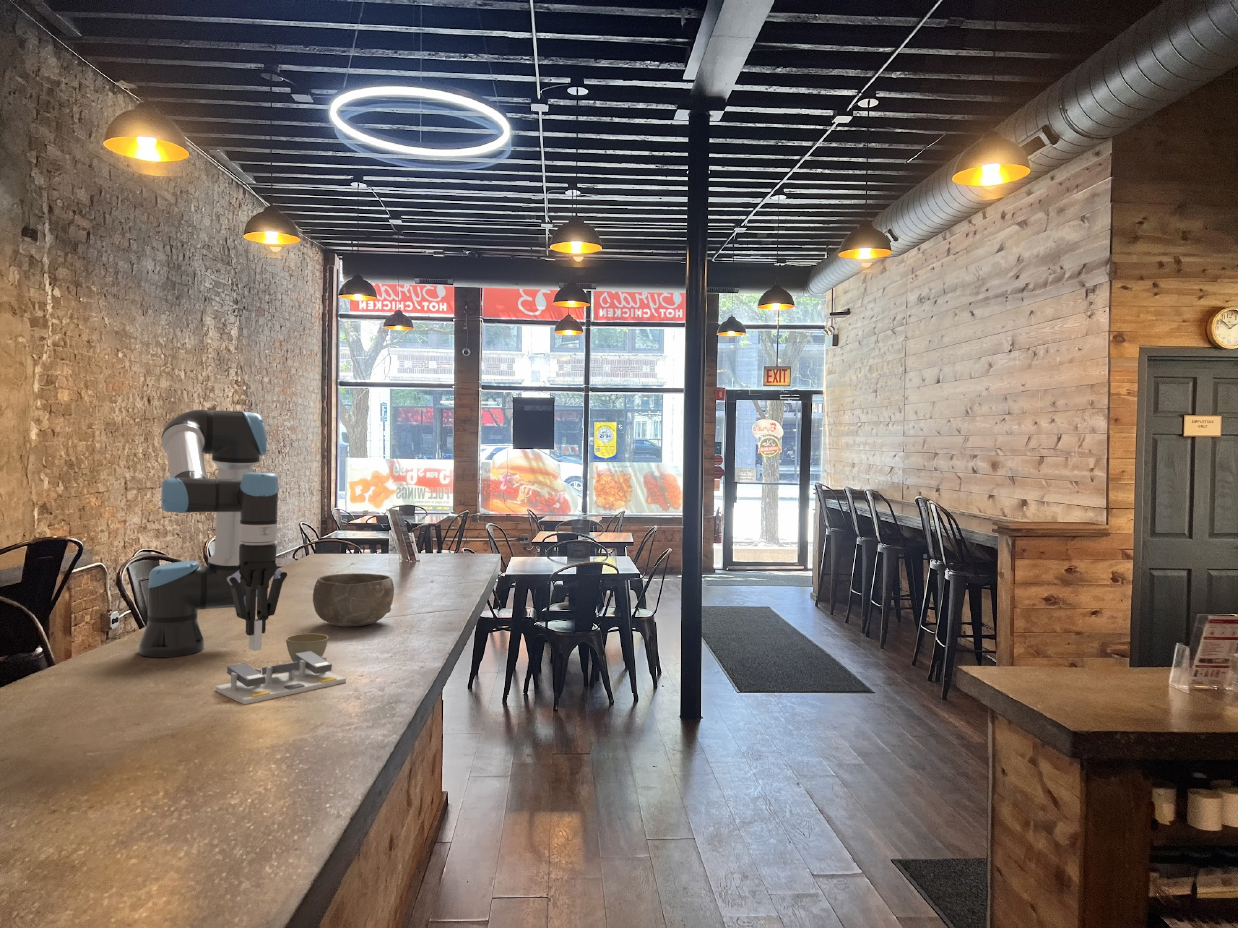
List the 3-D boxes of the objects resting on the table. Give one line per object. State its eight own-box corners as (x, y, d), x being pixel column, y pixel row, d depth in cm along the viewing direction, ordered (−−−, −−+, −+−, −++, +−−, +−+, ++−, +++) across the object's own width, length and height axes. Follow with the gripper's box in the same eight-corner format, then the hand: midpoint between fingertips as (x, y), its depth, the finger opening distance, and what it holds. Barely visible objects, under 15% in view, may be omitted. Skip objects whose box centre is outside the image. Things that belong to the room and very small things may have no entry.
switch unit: (215, 690, 181) (216, 669, 181) (315, 670, 199) (315, 651, 199) (244, 704, 172) (244, 681, 171) (345, 682, 190) (346, 662, 190)
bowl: (409, 624, 255) (411, 577, 255) (347, 637, 235) (348, 586, 235) (359, 614, 268) (360, 569, 268) (295, 626, 248) (296, 577, 248)
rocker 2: (261, 674, 187) (260, 667, 187) (279, 671, 190) (279, 664, 191) (282, 671, 181) (281, 664, 181) (300, 668, 184) (299, 660, 184)
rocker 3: (293, 660, 194) (294, 653, 193) (310, 656, 197) (311, 650, 197) (314, 674, 187) (315, 667, 187) (332, 670, 190) (332, 663, 190)
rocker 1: (226, 673, 181) (226, 665, 181) (245, 669, 185) (246, 662, 184) (246, 687, 175) (246, 679, 175) (266, 683, 178) (266, 675, 178)
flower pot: (313, 672, 198) (313, 643, 198) (276, 668, 200) (277, 640, 200) (335, 662, 207) (336, 634, 207) (300, 659, 209) (301, 631, 209)
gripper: (236, 546, 169) (232, 657, 170) (294, 542, 179) (291, 647, 180) (220, 542, 174) (217, 650, 175) (278, 538, 184) (275, 640, 185)
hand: (255, 648), depth 177 cm, fingers closed
